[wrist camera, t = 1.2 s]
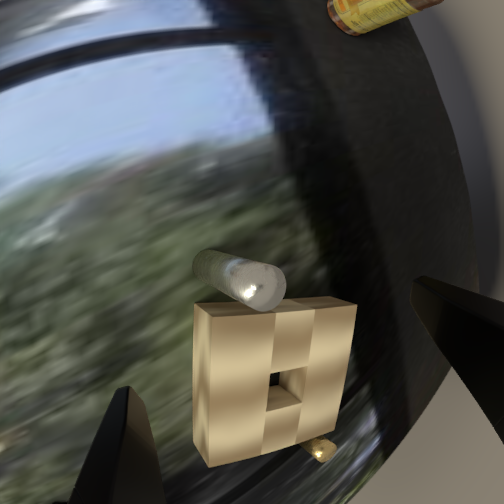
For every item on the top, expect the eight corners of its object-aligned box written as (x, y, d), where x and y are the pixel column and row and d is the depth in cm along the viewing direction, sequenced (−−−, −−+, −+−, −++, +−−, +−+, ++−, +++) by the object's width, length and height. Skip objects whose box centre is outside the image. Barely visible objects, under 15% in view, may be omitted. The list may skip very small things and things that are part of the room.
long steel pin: (222, 281, 26) (284, 310, 18) (191, 282, 25) (243, 312, 17) (224, 249, 26) (288, 264, 18) (193, 248, 25) (246, 264, 17)
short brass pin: (313, 441, 34) (334, 457, 30) (296, 447, 32) (316, 465, 29) (317, 425, 33) (338, 441, 30) (299, 431, 32) (320, 448, 29)
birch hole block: (311, 413, 33) (333, 430, 29) (193, 442, 26) (208, 467, 22) (329, 296, 32) (357, 304, 28) (194, 303, 25) (212, 317, 21)
